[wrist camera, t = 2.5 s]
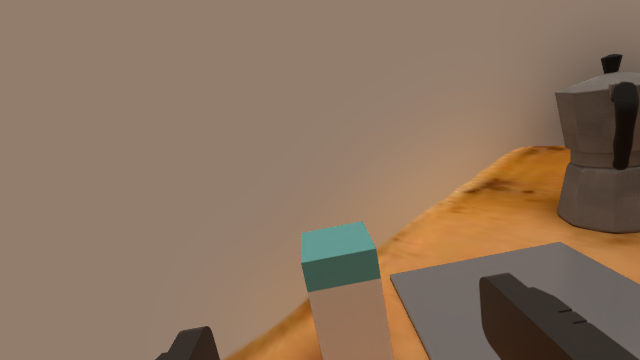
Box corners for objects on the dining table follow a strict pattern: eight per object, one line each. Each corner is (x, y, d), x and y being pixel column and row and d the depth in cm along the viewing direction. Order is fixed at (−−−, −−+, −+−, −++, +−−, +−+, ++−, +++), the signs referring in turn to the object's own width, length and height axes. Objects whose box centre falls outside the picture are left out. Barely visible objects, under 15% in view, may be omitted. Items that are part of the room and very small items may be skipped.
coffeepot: (554, 197, 45) (552, 64, 40) (649, 198, 39) (658, 44, 35) (559, 248, 33) (558, 66, 28) (697, 259, 27) (720, 37, 23)
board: (560, 245, 33) (560, 241, 33) (787, 370, 17) (788, 364, 17) (390, 278, 33) (389, 274, 33) (465, 433, 17) (465, 427, 17)
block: (381, 336, 25) (362, 221, 23) (397, 384, 21) (376, 248, 19) (326, 347, 25) (302, 233, 23) (331, 397, 21) (301, 263, 19)
